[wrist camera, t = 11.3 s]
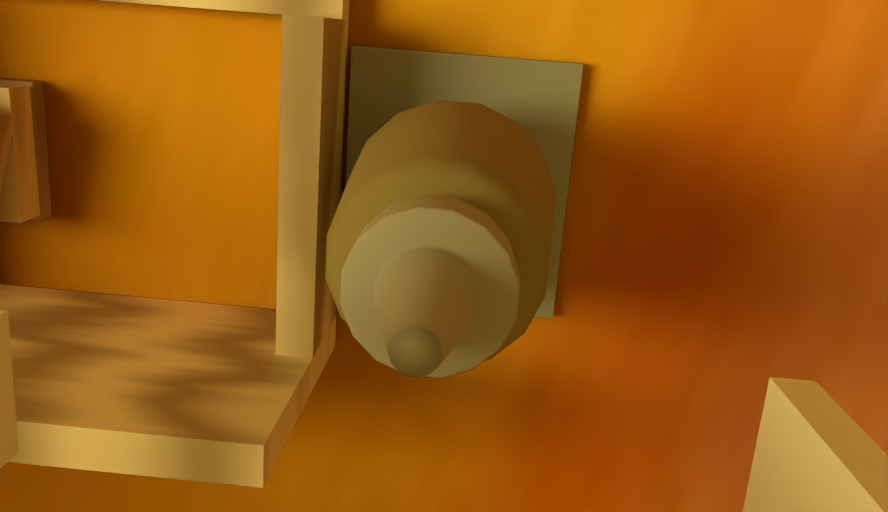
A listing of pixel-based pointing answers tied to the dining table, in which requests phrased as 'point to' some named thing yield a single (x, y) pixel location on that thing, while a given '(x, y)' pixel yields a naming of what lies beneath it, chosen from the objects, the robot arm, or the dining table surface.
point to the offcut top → (5, 141)
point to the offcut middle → (19, 159)
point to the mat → (476, 81)
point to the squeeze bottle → (442, 239)
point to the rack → (199, 314)
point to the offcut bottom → (38, 142)
